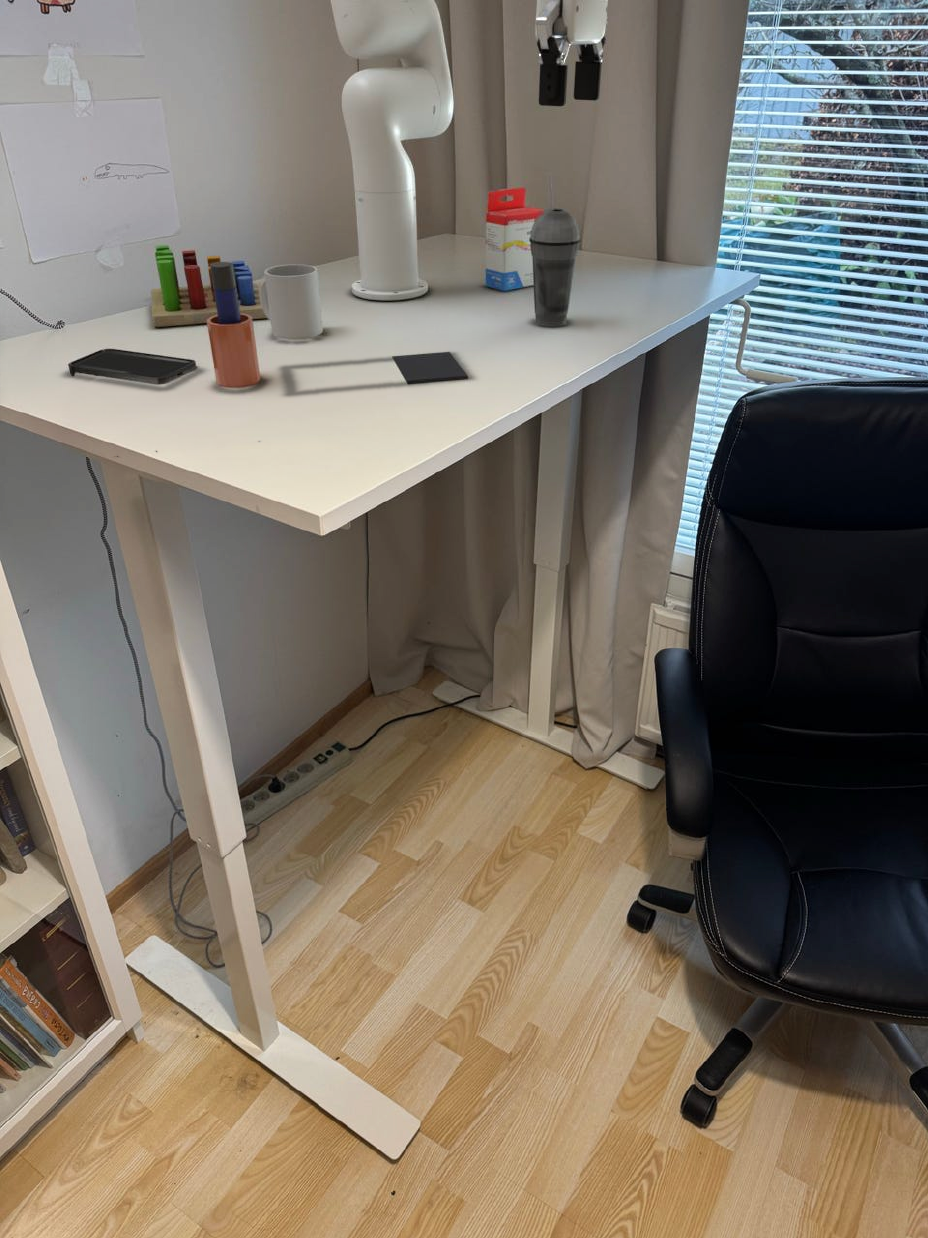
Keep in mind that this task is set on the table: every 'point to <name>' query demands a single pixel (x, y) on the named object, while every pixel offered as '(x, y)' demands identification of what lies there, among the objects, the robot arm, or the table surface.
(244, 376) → the tumbler
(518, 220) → the ink box
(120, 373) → the phone
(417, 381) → the desk mat
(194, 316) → the peg board
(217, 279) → the marker
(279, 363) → the table surface
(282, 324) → the cup
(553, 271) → the beverage cup
